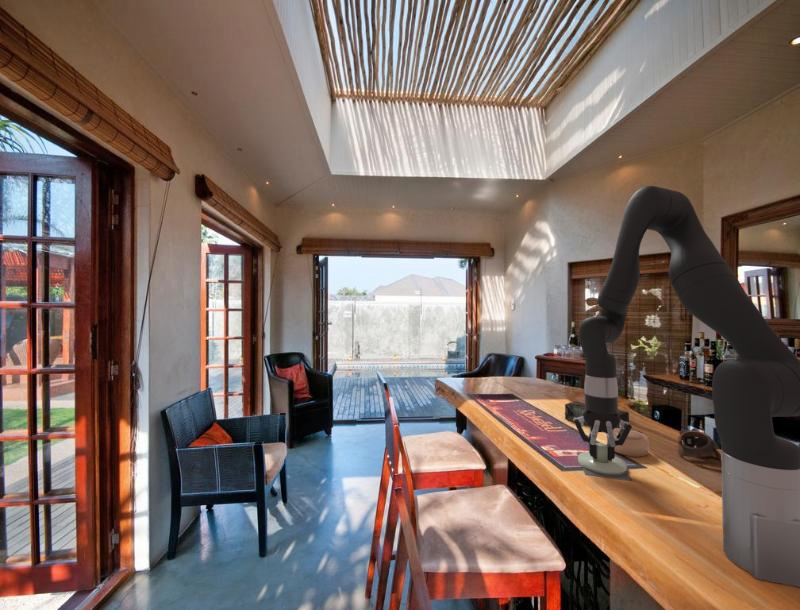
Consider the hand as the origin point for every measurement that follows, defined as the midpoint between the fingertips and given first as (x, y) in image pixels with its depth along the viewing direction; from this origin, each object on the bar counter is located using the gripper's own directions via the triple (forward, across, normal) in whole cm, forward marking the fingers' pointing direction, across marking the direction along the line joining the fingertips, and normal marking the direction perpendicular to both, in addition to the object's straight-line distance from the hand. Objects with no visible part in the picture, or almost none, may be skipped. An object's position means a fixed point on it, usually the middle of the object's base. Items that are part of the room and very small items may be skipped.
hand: (601, 458), depth 90 cm
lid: (+2, 0, 0) cm, 2 cm away
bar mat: (+2, 0, 0) cm, 2 cm away
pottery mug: (+3, +26, +16) cm, 31 cm away
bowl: (+2, +9, +13) cm, 16 cm away
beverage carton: (+3, +5, +38) cm, 38 cm away
